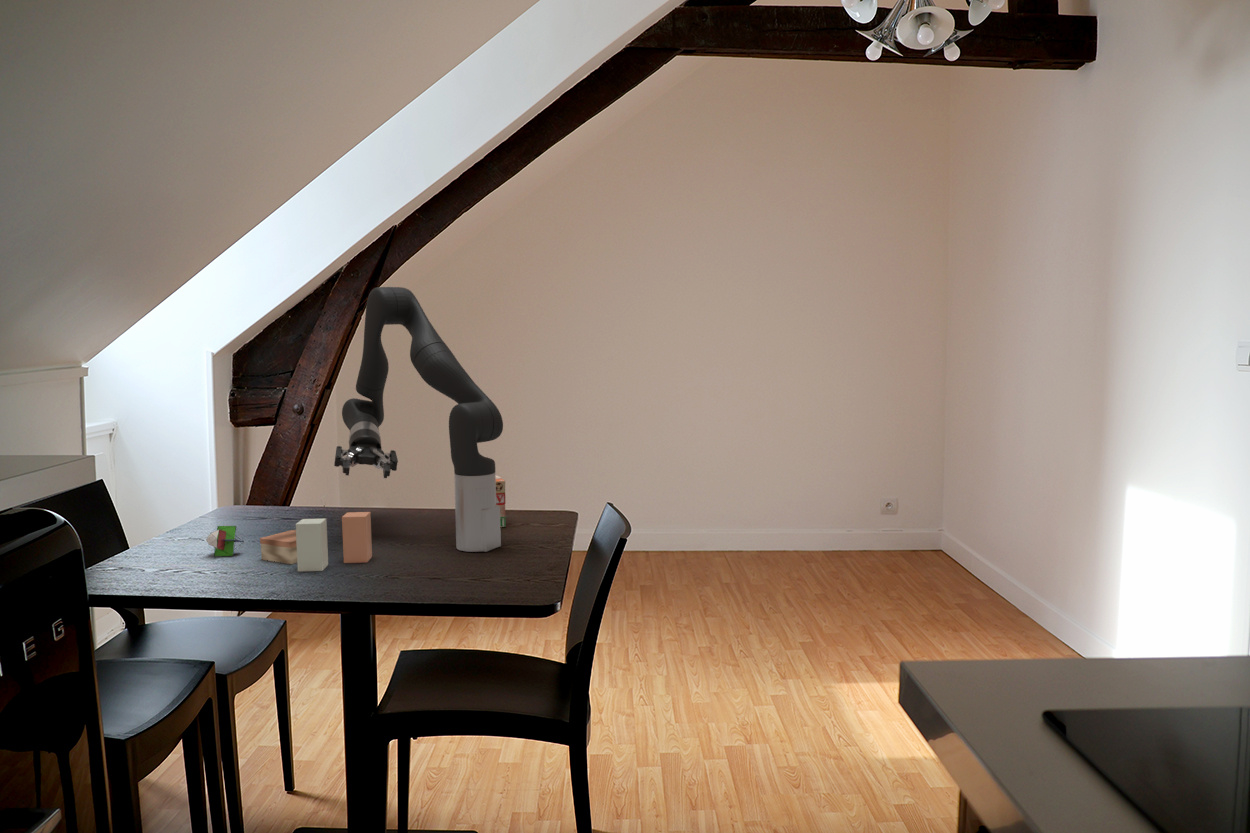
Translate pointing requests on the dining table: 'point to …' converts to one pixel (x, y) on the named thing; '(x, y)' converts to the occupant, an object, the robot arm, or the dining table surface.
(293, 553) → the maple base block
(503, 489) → the stack of blocks
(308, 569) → the sage block
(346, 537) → the terracotta block
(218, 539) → the geometric puzzle
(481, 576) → the dining table surface
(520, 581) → the dining table surface
